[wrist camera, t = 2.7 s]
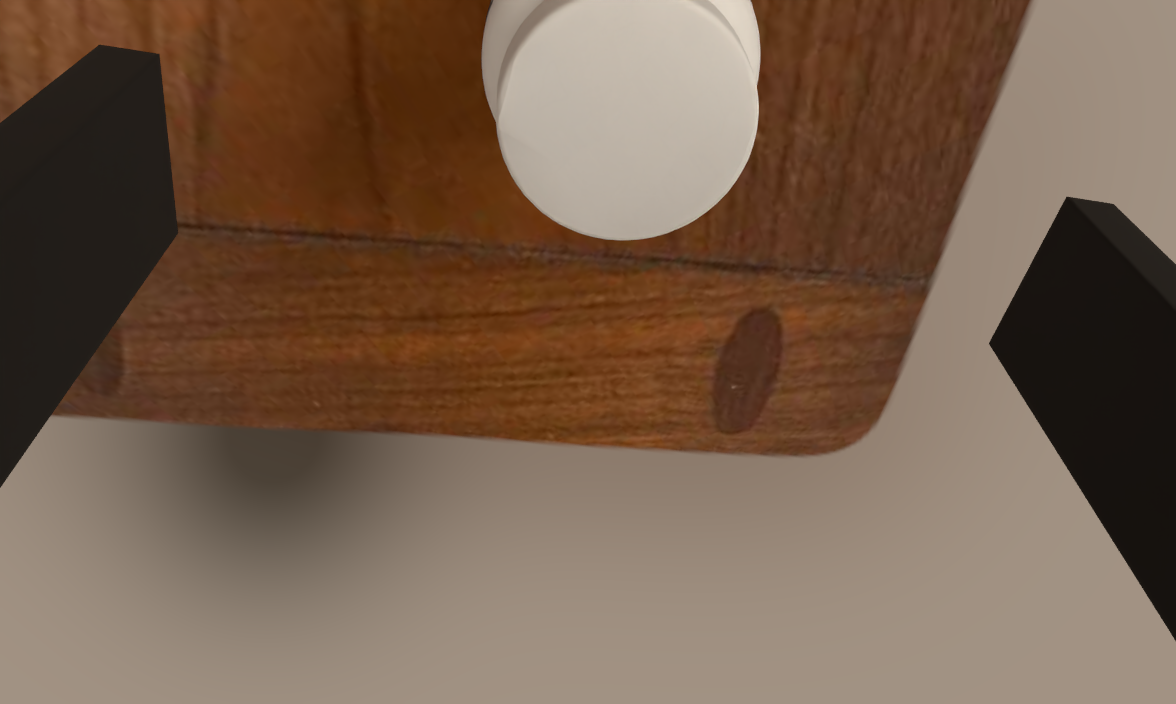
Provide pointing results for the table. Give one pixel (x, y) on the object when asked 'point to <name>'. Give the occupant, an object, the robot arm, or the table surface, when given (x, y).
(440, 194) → the table surface
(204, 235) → the table surface
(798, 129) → the table surface
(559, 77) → the pill bottle
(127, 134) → the robot arm
